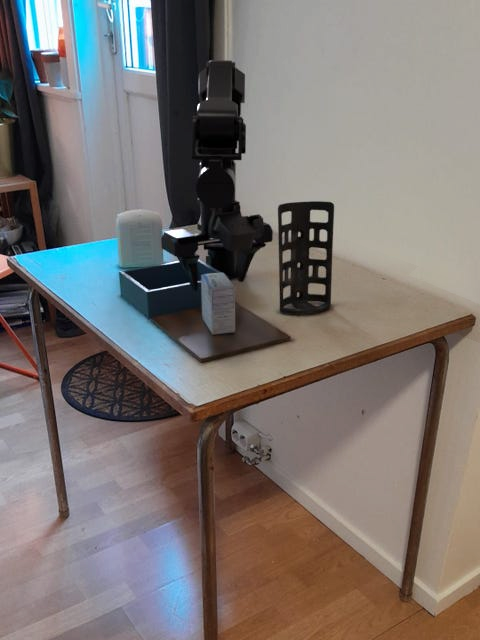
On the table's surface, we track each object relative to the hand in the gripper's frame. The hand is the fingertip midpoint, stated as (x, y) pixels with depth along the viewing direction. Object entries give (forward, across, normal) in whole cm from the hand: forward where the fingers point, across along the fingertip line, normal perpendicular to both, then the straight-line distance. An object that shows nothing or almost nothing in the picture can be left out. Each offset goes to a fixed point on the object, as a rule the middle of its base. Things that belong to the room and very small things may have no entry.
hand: (218, 286), depth 115 cm
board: (+8, 0, 0) cm, 9 cm away
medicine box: (+8, 0, 0) cm, 8 cm away
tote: (+8, 0, +18) cm, 20 cm away
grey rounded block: (+9, +3, +41) cm, 42 cm away
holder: (+9, +20, +2) cm, 22 cm away
